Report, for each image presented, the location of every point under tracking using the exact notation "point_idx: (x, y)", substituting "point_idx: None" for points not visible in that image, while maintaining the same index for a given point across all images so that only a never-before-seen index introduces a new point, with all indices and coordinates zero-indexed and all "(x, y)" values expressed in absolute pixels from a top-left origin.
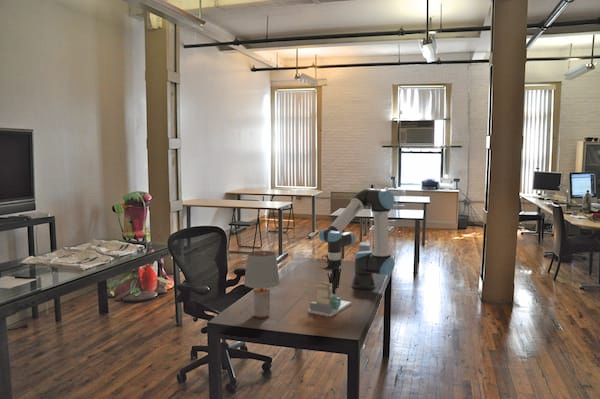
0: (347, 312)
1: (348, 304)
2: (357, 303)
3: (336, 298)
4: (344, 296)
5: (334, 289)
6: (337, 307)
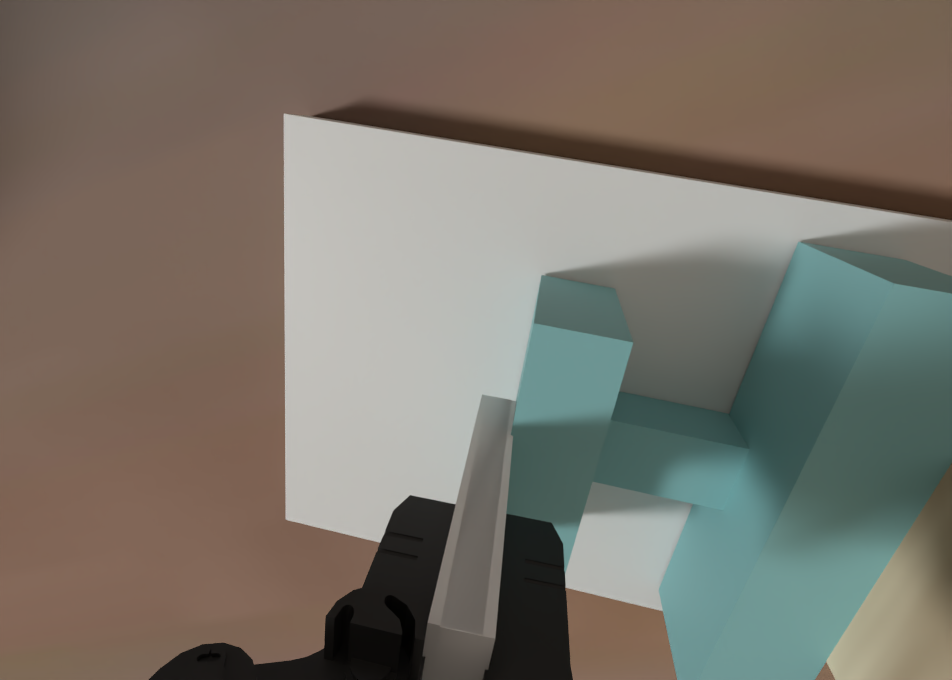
0: (852, 8)
1: (417, 134)
2: (178, 13)
3: (610, 408)
4: (13, 351)
5: (560, 666)
6: (890, 260)
